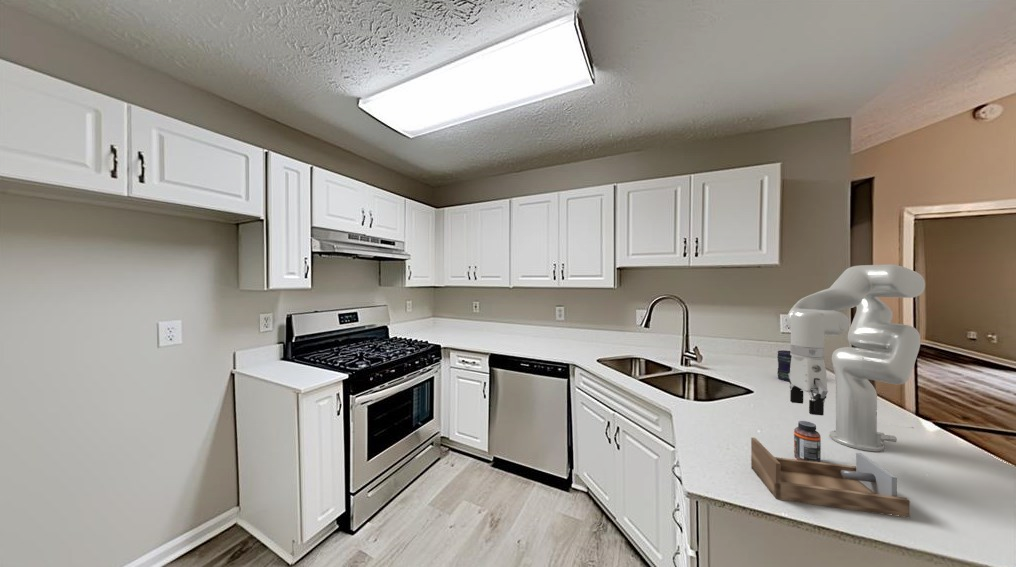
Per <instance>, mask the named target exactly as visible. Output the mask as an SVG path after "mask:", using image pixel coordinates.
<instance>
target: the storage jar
mask: <svg viewBox="0 0 1016 567" xmlns="http://www.w3.org/2000/svg"><path fill="white" fill-rule="evenodd" d="M776 357H777V379H778V380H779V381H782V382H787V383H790V382H789V380H790V379H789V375H788V374H789V373H790V365H791V357H792V356H791V355H790V350H784V349H783V350H777V356H776Z"/></svg>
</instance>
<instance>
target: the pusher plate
mask: <svg viewBox="0 0 1016 567" xmlns="http://www.w3.org/2000/svg"><path fill="white" fill-rule="evenodd" d="M855 455H856V456H855V465H856V472H855V471H847V470H841V476H842V477H843V478H844V479H850V480H858V481H860V482H861V483H862V484H864V485H865V486H866V487H867V488H869V489H870V490H871V491H872V492H874V493H875V494H880V495H888V496H896V497H898V477H897V476H895V475H894V474H892V473H891V472H890V471H888V470H886V468H883V467H882V466H881V465H879V464H878V463H876V462H875V461H873V460H872V459H870V458H868V457H867V455H865V454H864V453H863V454H862V453H859V452H856V453H855Z"/></svg>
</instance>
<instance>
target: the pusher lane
mask: <svg viewBox="0 0 1016 567" xmlns="http://www.w3.org/2000/svg"><path fill="white" fill-rule="evenodd" d="M750 440H751V443H750V444H751V445H750V447H751V448H750V449H751V450H750V451H751V452H750V453H751V454H750V456H751V457H750V459H751V460H750V461H751V462H750V464H751V466H750V467H751V470H752V471H753V472H754V473H755V474H756V476H757V477H758V478H759V480H761V483H763V484H764V486H765V487H766V489H767V490H768V491H769V492H770V493H771V495H773V497H774V498H775V500H782V501H789V502H790V501H791V502H796V503H803V504H811V505H815V506H824V507H830V508H839V509H845V510H850V511H858V510H859V511H860V512H865V511H866V513H872V512H873V514H879V513H883V514H882V515H886V514H892V515H891V516H893V515H899V516H898V517H900V516H905V517H904V518H907V517H910V516H911V513H910V512H911V511H910V509H911V508H910V505H911V503H910V502H911V501H910V499H908V498H907V497H902V496H897V497H896V496H888V495H880V494H875V493H874V492H872V491H871V490H870V489H869V488H867V487H866V486H865V485H864V484H862V483H861V482H860V481H858V480H850V479H844V478H843V477H842V476H841V470H847V471H855V472H856V466H855V465H846V464H838V463H832V462H831V463H830V462H821V461H820V462H813V461H805V460H798V459H797V458H794V459H793V458H786V457H777V456H774V455H773V454H772V453H771V452H770V451H769V450H768V449H767V448H766V447H765V446H764V445H763V443H761V442H760V441H759V440H758V438H756V437H750ZM910 518H911V517H910Z"/></svg>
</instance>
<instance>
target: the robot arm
mask: <svg viewBox="0 0 1016 567" xmlns="http://www.w3.org/2000/svg"><path fill="white" fill-rule="evenodd" d="M925 288H926V281H925V279H924V277H923V276H922V275H921V274H920V273H919V272H917V271H914V270H913V269H910V268H907V267H904V266H901V265H898V264H865V265H862V264H861V265H853V266H850V267H848V268H846V269H845V270H844V271H843V272H842V273H841V275H839V277H838V278H837V279H836V280H835V281H834V282H833V284H832V285H831V286H830V287H829V288H825V289H822V290H819V291H817V292H815V293H812V294H809V295H807V296H805V297H801V298H800V299H799V300H798V301H797V302H796V303H795V304H794V305H793V306H792V307H791V309H790V310H789V312H788V313H787V316H786V324H787V325H788V328H790V348H789V349H790V350H789V351H790V355H791V356H792V357H791V365H790V373H789V374H788V375H789V379H790V380H789V382H788V383H789V384H790V385H789V389H790V390H789V391H790V392H789V393H790V396H789V397H790V398H789V400H790V402H791V403H792V404H804V392H806V393H808V395H809V401H808V413H809V415H812V416H813V415H814V416H824V411H825V410H824V408H825V402H826V399H827V395H828V392H829V390H828V377H827V369H826V363H825V360H824V359H825V335H826V336H827V335H828V336H840V335H843V334H844V333H845V332H846V331H848V333H847V341H848V343H849V344H850V345H851V346H854V347H850V346H843V347H839V348H837V349H835V350H834V351H833V352H832V355H831V362H832V364H831V365H832V367H833V372H834V378H835V430H831V431H830V432H829V437H830V438H831V439H832V440H833V441H835V442H836V443H839V444H841V445H843V446H846V447H850V448H853V449H856V450H857V449H858V450H861V451H867V452H868V451H869V452H882V451H884V449H885V445H884V443H883V442H885V441H886V442H890V443H891V442H892V443H896V442H897V436H895V435H890V434H885V433H884V432H882V431H880V432H879V431H878V418H877V410H878V393H877V390H876V388H875V387H874V385H873V384H872V382H870V381H876V382H881V383H886V384H890V385H903V384H906V383H907V382H908V381H909V379H910V377H911V375H912V373H913V369H914V366H915V363H916V360H917V356H918V354H919V352H920V347H921V334H920V333H919V331H918V330H917V328H915V326H912V325H908V324H904V323H892V320H893V316H894V313H893V311H892V309H891V308H890V307H889V306H888V305H887V304H886V303H885V302H883V301H882V300H881V299H880V298H902V299H904V298H907V299H908V298H909V299H910V298H917V297H918V296H921V295H922V294H923V293H924V291H925ZM879 297H880V298H879ZM855 307H856V312H855V314H854V317H853V319H852V322H851V325H850V319H849V318H848V316H847V315H845V313H843V312H841V311H842V310H847V309H852V308H855ZM848 329H849V330H848Z"/></svg>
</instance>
